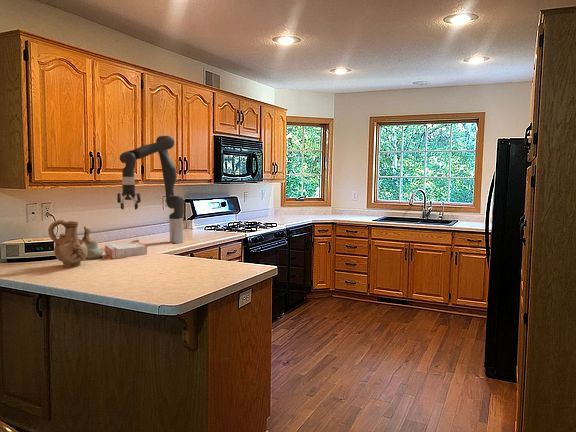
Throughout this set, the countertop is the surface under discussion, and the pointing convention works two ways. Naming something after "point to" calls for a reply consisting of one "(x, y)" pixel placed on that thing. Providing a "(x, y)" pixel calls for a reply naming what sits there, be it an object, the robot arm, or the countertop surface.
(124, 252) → the cracker box
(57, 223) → the ceramic vessel
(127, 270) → the countertop surface
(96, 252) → the air freshener
